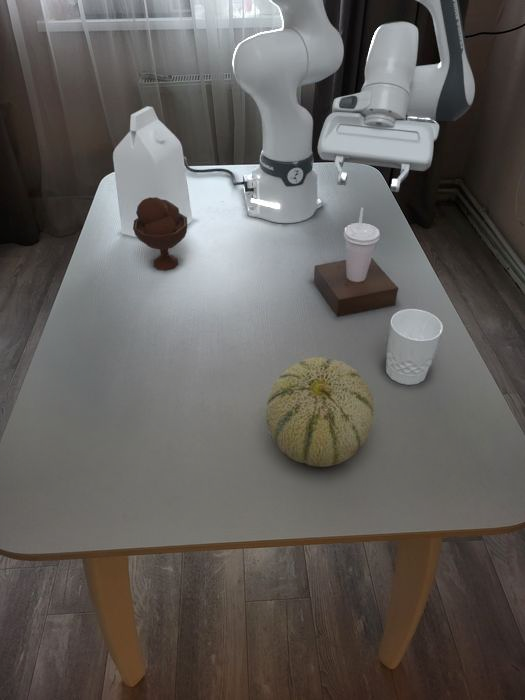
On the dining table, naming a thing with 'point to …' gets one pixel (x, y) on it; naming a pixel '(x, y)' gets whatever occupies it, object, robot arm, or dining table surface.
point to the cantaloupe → (320, 412)
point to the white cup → (412, 345)
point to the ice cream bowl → (160, 229)
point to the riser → (354, 288)
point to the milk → (149, 168)
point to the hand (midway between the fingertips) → (367, 187)
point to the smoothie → (359, 248)
